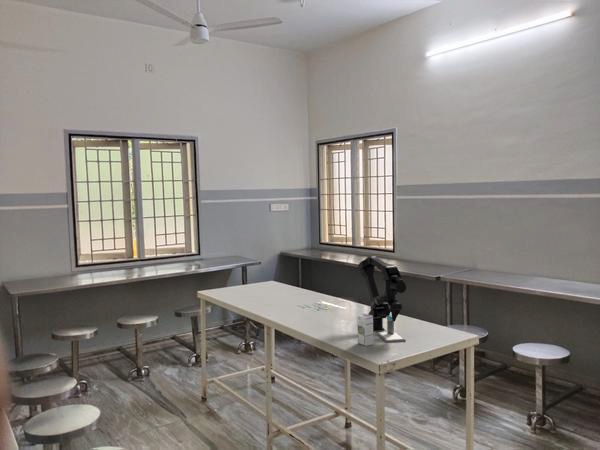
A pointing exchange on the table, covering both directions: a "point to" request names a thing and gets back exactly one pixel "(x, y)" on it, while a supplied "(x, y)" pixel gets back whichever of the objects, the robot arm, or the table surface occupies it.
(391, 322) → the marker
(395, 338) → the writing board
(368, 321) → the syrup box
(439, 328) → the table surface
